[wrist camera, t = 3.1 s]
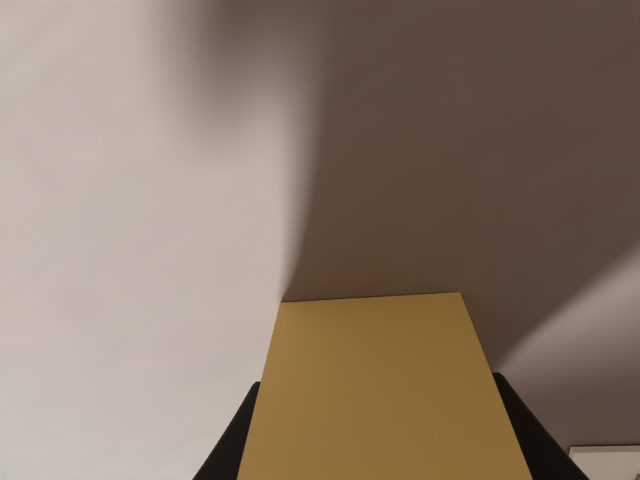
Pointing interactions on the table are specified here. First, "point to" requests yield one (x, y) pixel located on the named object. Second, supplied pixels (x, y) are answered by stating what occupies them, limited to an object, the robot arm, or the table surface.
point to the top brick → (379, 396)
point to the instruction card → (608, 462)
